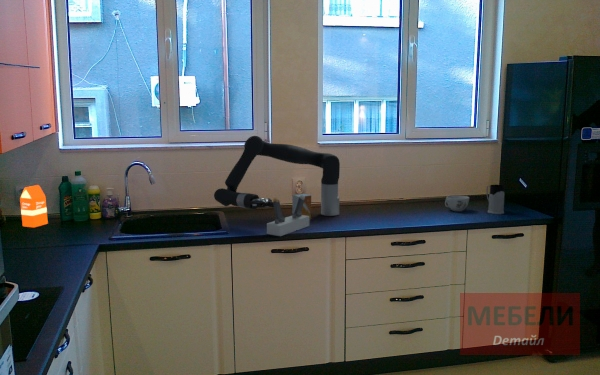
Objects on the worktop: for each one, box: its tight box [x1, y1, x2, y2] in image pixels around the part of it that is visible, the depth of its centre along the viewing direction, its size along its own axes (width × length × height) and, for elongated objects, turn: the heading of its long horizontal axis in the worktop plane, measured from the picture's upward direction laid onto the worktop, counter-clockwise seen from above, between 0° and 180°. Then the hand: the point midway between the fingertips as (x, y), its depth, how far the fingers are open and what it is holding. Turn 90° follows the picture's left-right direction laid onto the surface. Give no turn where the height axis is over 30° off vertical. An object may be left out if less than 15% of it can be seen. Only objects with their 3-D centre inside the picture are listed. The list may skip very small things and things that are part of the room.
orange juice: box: [19, 184, 49, 228], centre depth 263 cm, size 8×9×20 cm
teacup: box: [444, 194, 471, 212], centre depth 294 cm, size 15×12×8 cm
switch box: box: [266, 212, 310, 237], centre depth 253 cm, size 8×24×7 cm, turn 145°
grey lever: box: [294, 195, 305, 217], centre depth 256 cm, size 3×4×12 cm
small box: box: [291, 193, 312, 221], centre depth 274 cm, size 8×6×13 cm
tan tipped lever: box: [272, 197, 284, 222], centre depth 246 cm, size 3×4×12 cm
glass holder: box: [485, 184, 506, 215], centre depth 292 cm, size 9×14×15 cm, turn 14°
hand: (275, 204), depth 247 cm, fingers closed
